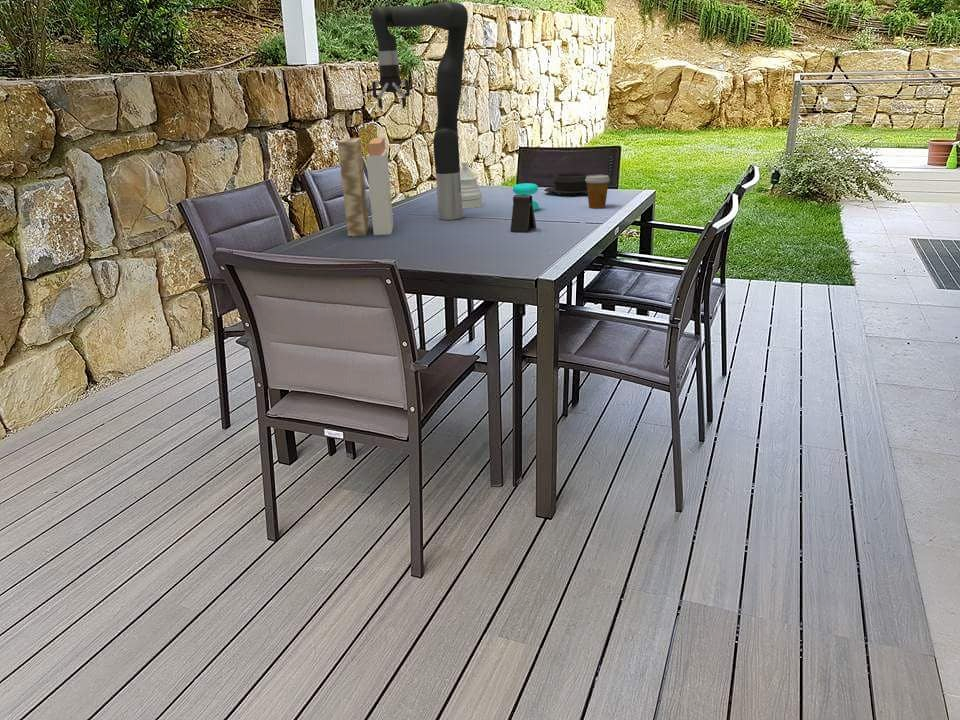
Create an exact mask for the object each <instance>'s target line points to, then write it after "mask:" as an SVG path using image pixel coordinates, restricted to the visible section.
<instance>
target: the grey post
mask: <svg viewBox="0 0 960 720" xmlns="http://www.w3.org/2000/svg"><path fill="white" fill-rule="evenodd" d="M365 159H366V167H367V168H366V170H367V179H368V189H369V190H368V191H369V198H370V199H369V200H370V209H371V220H372V221H371V222H372V230H373V236H382V235H383V236H385V235H392V231H393V228H394V217H393V205H392V195H391V194H392V193H391V180H390V172H389V171H390V170H389V161H388V151H387V150H384V152H383V153H382V155H379V156H369V153H368V154H367V155H365Z"/></svg>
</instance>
